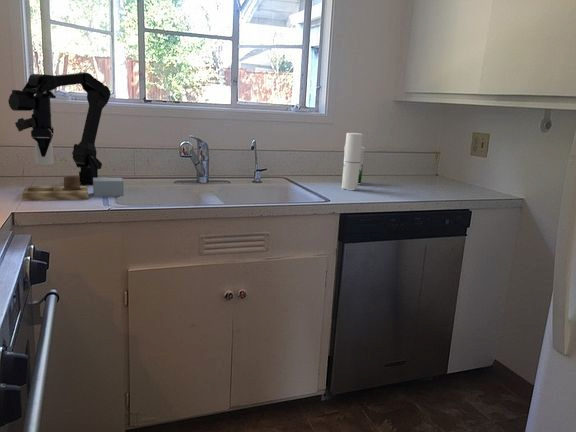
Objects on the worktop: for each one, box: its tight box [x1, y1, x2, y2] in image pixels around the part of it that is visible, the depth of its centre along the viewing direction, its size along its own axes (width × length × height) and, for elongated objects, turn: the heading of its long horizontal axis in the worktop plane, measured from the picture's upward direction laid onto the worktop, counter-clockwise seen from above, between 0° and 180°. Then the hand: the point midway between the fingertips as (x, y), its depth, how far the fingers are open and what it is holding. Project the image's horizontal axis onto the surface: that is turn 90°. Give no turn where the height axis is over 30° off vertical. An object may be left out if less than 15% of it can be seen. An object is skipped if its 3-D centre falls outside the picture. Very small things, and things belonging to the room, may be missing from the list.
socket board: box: [21, 185, 89, 202], centre depth 171 cm, size 20×12×2 cm, turn 113°
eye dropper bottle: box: [34, 142, 54, 167], centre depth 176 cm, size 4×6×12 cm
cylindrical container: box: [341, 132, 364, 190], centre depth 219 cm, size 7×7×25 cm
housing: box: [92, 177, 125, 198], centre depth 179 cm, size 10×7×6 cm
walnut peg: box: [63, 175, 81, 191], centre depth 172 cm, size 5×4×7 cm
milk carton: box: [341, 145, 366, 183], centre depth 236 cm, size 9×9×20 cm
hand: (44, 155), depth 177 cm, fingers closed on eye dropper bottle, 8 cm apart
